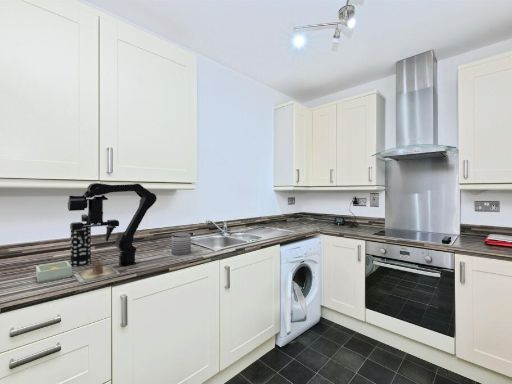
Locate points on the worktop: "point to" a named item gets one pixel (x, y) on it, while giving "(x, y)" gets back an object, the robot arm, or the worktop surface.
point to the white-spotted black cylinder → (81, 248)
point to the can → (180, 244)
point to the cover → (97, 271)
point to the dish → (53, 271)
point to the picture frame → (94, 279)
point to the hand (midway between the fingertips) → (95, 242)
